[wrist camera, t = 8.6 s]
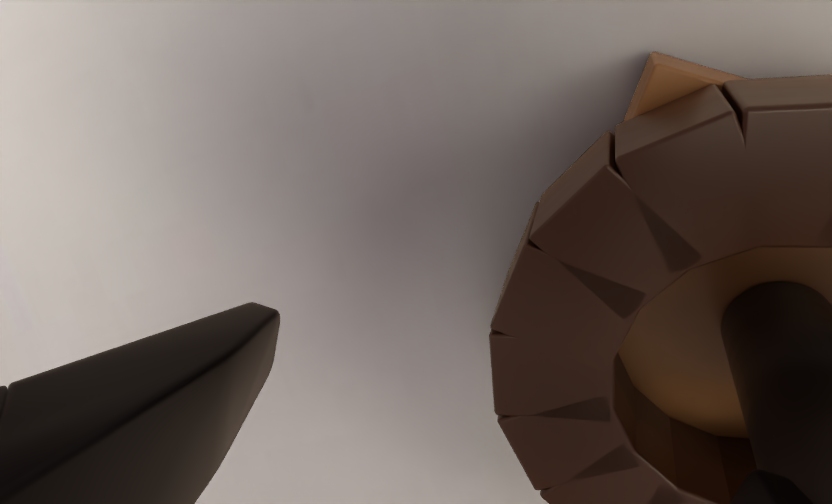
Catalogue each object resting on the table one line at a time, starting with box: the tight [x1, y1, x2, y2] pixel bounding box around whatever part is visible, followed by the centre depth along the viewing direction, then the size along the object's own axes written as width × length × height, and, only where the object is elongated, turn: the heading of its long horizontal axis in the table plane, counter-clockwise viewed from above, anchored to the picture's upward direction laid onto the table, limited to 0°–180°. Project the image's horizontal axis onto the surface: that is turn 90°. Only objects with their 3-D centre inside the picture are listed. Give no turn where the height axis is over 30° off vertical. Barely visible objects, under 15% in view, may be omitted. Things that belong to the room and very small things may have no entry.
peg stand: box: [618, 52, 832, 504], centre depth 11 cm, size 8×8×8 cm
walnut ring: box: [489, 75, 832, 504], centre depth 12 cm, size 10×10×2 cm
